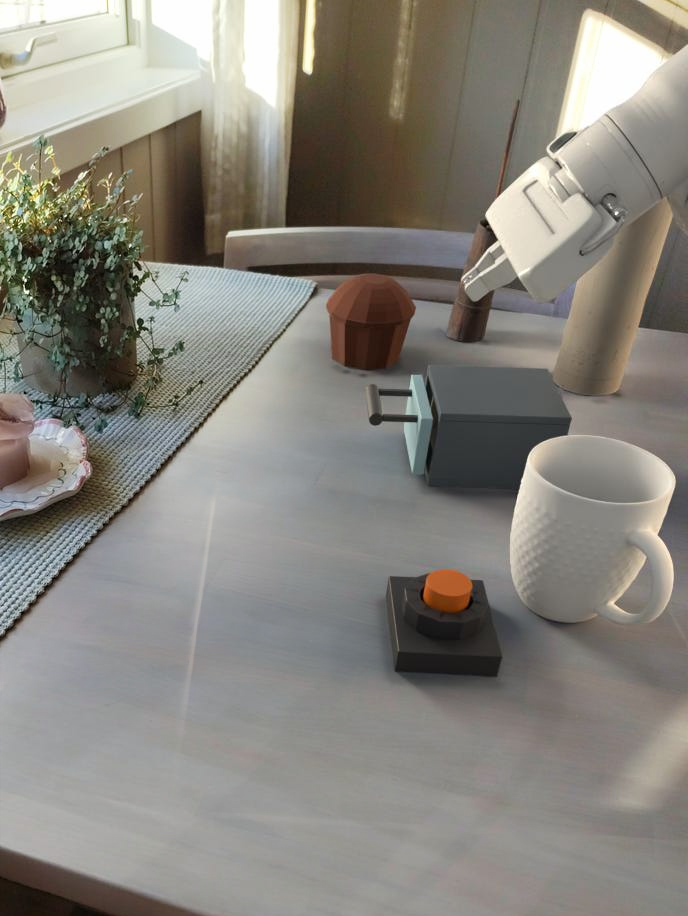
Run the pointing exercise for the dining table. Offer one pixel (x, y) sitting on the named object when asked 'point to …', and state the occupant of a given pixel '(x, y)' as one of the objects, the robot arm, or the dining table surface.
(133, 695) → the dining table surface
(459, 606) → the button
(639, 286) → the thermos bottle
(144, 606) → the dining table surface
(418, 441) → the tray
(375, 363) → the muffin
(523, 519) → the mug
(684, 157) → the robot arm
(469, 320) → the butter churn
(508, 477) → the dispenser
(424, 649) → the control block
